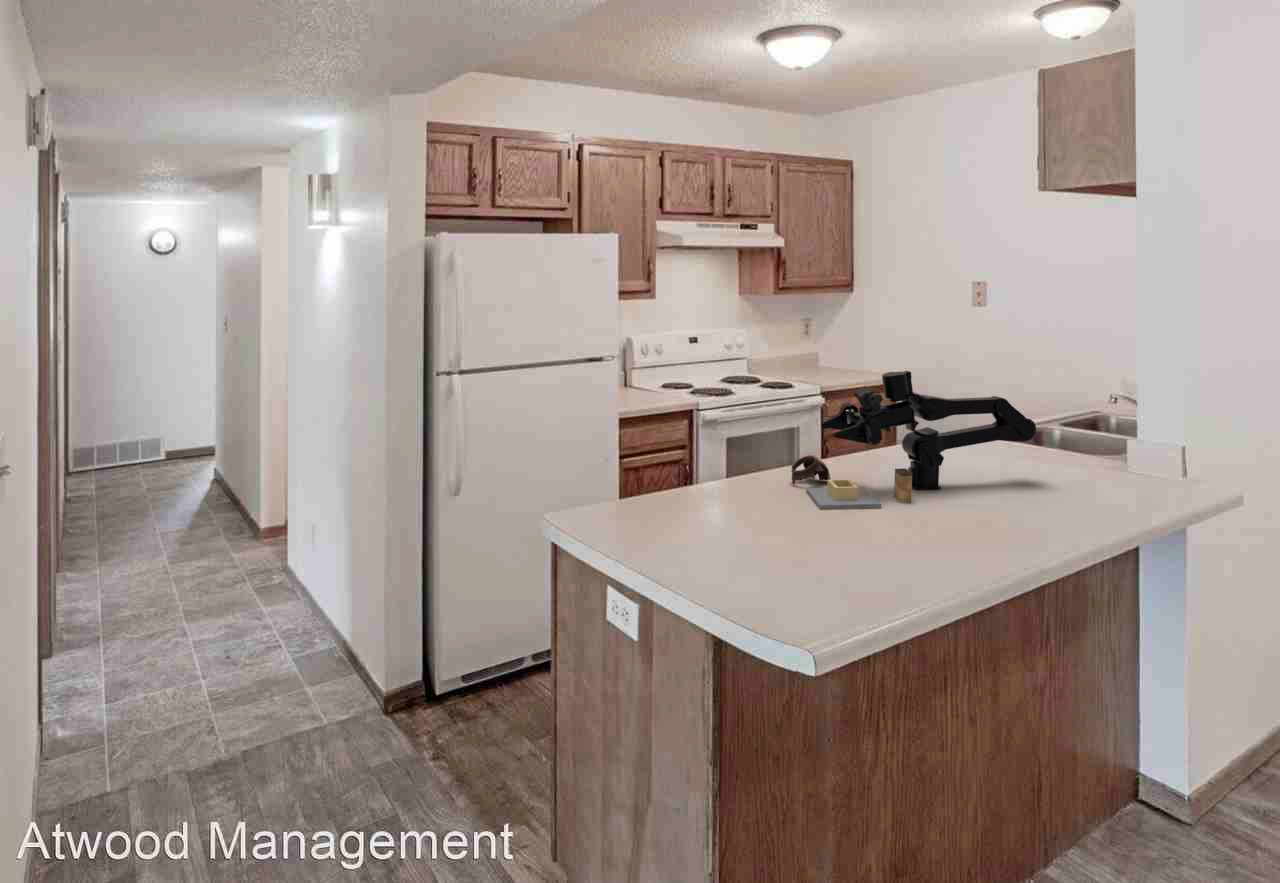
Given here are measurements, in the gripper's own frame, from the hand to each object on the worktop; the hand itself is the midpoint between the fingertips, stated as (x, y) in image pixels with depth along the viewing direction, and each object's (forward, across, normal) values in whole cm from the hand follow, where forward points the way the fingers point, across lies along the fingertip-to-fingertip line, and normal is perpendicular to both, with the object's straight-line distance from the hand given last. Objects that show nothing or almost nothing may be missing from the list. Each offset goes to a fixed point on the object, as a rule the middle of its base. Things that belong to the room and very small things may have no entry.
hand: (827, 430), depth 211 cm
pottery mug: (+4, -8, +16) cm, 18 cm away
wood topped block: (-12, +12, +17) cm, 24 cm away
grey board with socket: (+2, +10, +14) cm, 17 cm away
